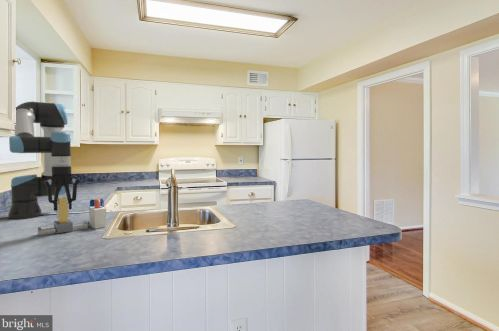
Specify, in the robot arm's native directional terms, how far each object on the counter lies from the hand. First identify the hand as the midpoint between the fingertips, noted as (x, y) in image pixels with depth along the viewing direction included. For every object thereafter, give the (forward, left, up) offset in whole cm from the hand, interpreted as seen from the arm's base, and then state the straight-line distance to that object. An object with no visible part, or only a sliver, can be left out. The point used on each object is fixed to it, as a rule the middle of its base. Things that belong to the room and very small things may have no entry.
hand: (63, 217), depth 135 cm
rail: (0, 0, -7) cm, 7 cm away
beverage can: (-11, +17, -7) cm, 21 cm away
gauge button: (0, +15, -2) cm, 15 cm away
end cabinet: (0, +15, -7) cm, 16 cm away
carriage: (0, 0, -7) cm, 7 cm away
